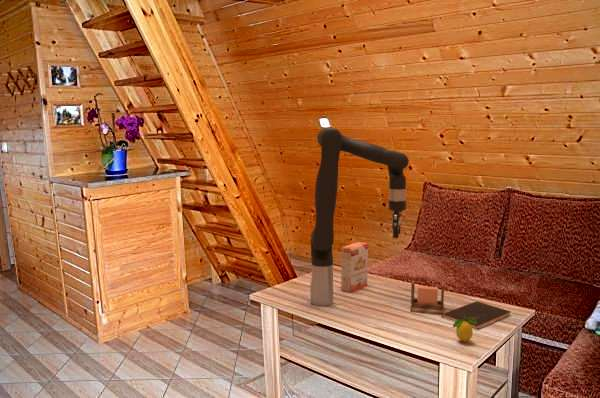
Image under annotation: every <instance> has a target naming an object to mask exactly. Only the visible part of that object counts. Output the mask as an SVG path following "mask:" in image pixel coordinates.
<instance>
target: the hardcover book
mask: <svg viewBox="0 0 600 398" xmlns="http://www.w3.org/2000/svg"><path fill="white" fill-rule="evenodd" d="M511 312H512V311H511V310H507V309H504V308H501V307H497V306H494V305H491V304H488V303H484V302H480V301H479V300H478V301H477V300H476V301H474V302H470V303H468V304H465V305H462V306H460V307H457V308H454V309H452V310H449V311H446V312H443V314H442V315H441V318H442V319H445V318H446V320H448V319H449V320H448V321H451V320H452V322H454V321H457V320H459V319H461V320H463V319H464V315H465V321H466V322H468V323H469V324H470V325H471V327H472V329H474V328H475V329H474V330H478V329H477V328H479V329H481V328H483V327H485V326H484V325H486V324H488V325H490V324H492V323H491V322H493V321H495V322H497V321H499V320H498V319H500V318H502V317H504V318H506V317H505V316H507V315H509V316H510V313H511ZM467 317H473V318H475V319H476V321H477V323H476V324H473V323H471V322H469V321H468V319H467ZM507 317H508V316H507ZM502 319H503V318H502ZM496 320H497V321H496ZM500 320H501V319H500ZM463 321H464V320H463ZM489 323H490V324H489ZM493 323H494V322H493ZM482 326H483V327H482ZM486 326H487V325H486ZM480 327H481V328H480Z"/></svg>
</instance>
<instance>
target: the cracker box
mask: <svg viewBox="0 0 600 398" xmlns="http://www.w3.org/2000/svg"><path fill="white" fill-rule="evenodd" d="M368 262H369V243H367V242H362V241H357V242H353V243H351V244H348V245H344V246H341V277H340V278H341V289H340V290H341V291H344V292H349V293H353V292H355V291H357V290H359V289H362V288H364V287H366V286H368V270H369V269H368V267H369V265H368V264H369V263H368Z"/></svg>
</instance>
